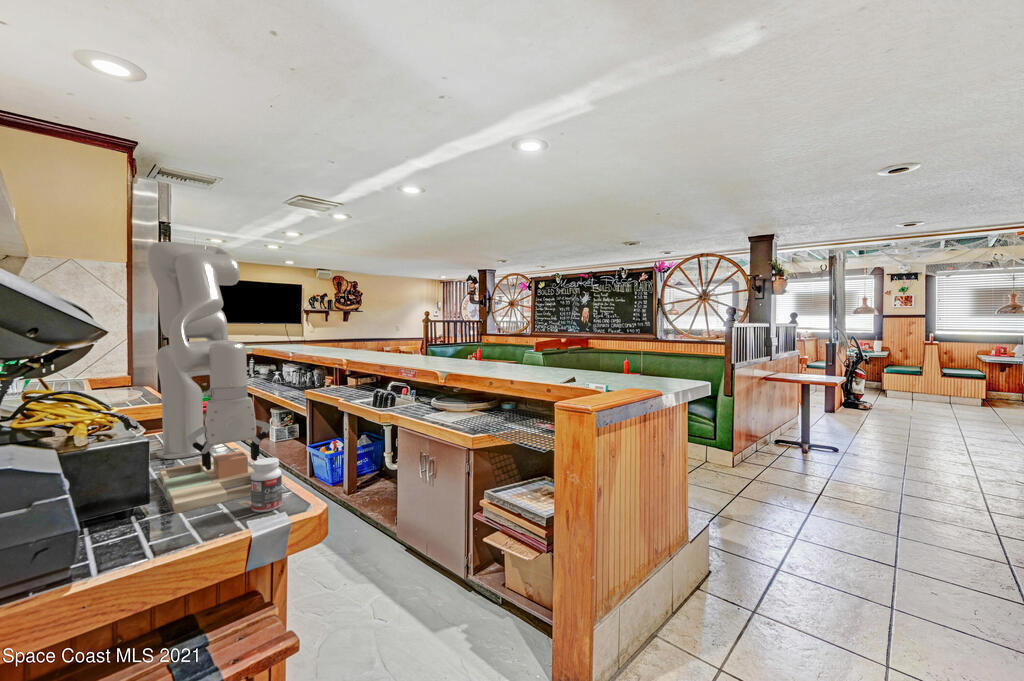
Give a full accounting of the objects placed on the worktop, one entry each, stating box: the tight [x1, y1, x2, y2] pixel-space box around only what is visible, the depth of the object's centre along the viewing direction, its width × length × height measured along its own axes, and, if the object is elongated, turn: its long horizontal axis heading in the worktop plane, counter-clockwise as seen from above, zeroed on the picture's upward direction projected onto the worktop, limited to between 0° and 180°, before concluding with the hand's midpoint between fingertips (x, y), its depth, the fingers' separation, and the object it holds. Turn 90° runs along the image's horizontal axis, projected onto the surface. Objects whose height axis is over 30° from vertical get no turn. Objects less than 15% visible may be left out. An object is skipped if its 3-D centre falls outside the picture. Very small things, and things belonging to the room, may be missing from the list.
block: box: [212, 450, 249, 479], centre depth 109 cm, size 6×6×4 cm
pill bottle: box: [250, 457, 283, 513], centre depth 94 cm, size 6×6×10 cm
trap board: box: [158, 459, 255, 514], centre depth 107 cm, size 27×17×2 cm, turn 43°
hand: (231, 464), depth 109 cm, fingers open, 9 cm apart
